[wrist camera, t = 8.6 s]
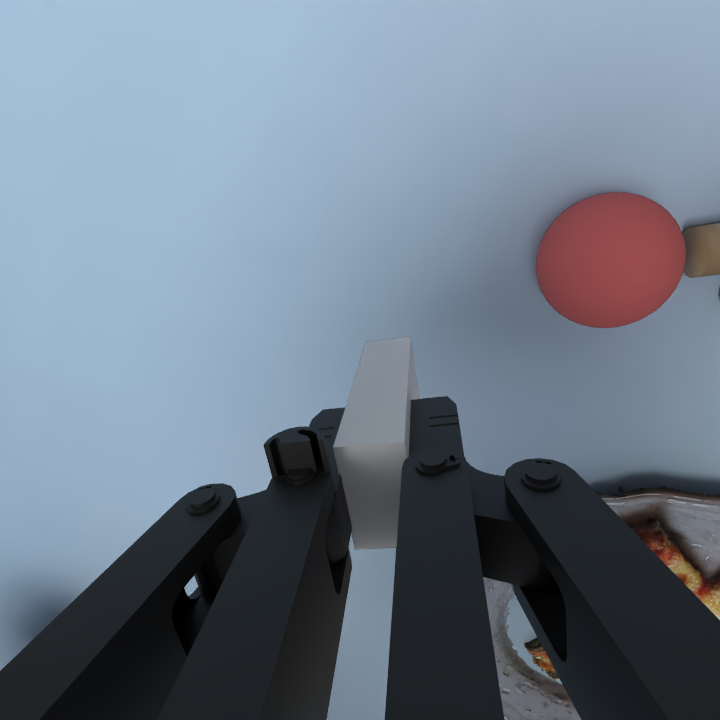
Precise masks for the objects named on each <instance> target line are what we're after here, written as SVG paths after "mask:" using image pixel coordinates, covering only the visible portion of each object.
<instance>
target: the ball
mask: <svg viewBox="0 0 720 720" xmlns="http://www.w3.org/2000/svg"><path fill="white" fill-rule="evenodd" d="M685 258H686V248H685V241H684V238H683V235H682V232H681V230H680V227H679V225H678V224H677V222H676V220H675V219H674V218H673V217H672V216H671V214H670V213H669V212H668V211H667V210H666V209H664V208H663V207H662V206H661V205H659V204H658V203H656V202H654V201H653V200H651V199H648V198H646V197H643V196H640V195H636V194H631V193H621V192H611V193H605V194H599V195H595V196H592V197H589V198H586V199H584V200H582V201H579V202H577V203H576V204H574V205H573V206H571V207H569V208H568V209H566V210H565V211H564V212H563V213H562V214H560V215H559V216H558V217H557V218H556V220H555V221H554V222H553V223H552V224H551V225H550V227H549V228H548V229H547V231H546V233H545V235H544V236H543V239H542V241H541V243H540V246H539V249H538V253H537V259H536V274H537V280H538V284H539V287H540V289H541V291H542V293H543V295H544V297H545V298H546V300H547V301H548V303H549V304H550V305H551V306H552V307H553V308H554V309H555V310H556V311H557V312H558V313H559V314H561V315H562V316H564V317H566V318H567V319H569V320H571V321H573V322H576V323H578V324H581V325H585V326H589V327H597V328H611V327H618V326H623V325H627V324H630V323H633V322H636V321H638V320H641V319H642V318H644V317H646V316H648V315H650V314H651V313H653V312H654V311H656V310H657V309H658V308H659V307H660V306H661V305H662V304H663V303H664V302H665V301H666V300H667V299H668V298H669V297H670V296H671V294H672V293H673V292H674V290H675V289H676V287H677V285H678V283H679V281H680V279H681V276H682V273H683V270H684V265H685Z"/></svg>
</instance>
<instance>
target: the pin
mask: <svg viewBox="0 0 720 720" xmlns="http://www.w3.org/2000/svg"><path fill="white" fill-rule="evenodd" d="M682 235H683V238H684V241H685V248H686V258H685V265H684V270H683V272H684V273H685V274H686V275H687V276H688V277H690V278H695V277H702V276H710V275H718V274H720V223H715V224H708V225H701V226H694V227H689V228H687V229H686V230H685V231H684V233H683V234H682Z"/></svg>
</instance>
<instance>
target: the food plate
mask: <svg viewBox="0 0 720 720" xmlns="http://www.w3.org/2000/svg"><path fill="white" fill-rule="evenodd" d="M621 488H622V486H621V487H619V490H620V492H622V493H623V494H625V496H623V497H622V498H621V497H619V498H618V497H617V496H616V495H615V494H607V493H606V494H600V495H599V496H600V497H601V498H602V499H603V500H604V501H605V502H606V504H607V505H608V506H609V507H610V508H611V509H612V510H613V511H614V512H615V513H616V514H617V515H618V516H619V517H620V518H621V519H622V520H623V521H624V522H625V523H626V524H627V525H628V526H629V527H630V528H631V529H632V530H633V531H634V532H635V533H636V534H637V535H638V536H639V537H640V538H641V540H642V541H643V542H644V543H645V544H646V545H647V546H648V547H649V548H650V549H651V550H652V551H653V552H654V553H655V554H656V555H657V556H658V557H659V558H660V559H661V560H662V561H663V562H664V563H665V564H666V565H667V566H668V567H669V568H670V569H671V570H672V571H673V572H674V573H675V575H676V576H677V577H678V578H679V579H680V580H681V581H682V582H683V583H684V584H685V585H686V586H687V587H688V588H689V589H690V590H691V591H692V592H693V593H694V594H695V595H696V596H697V597H698V598H699V599H700V600H701V601H702V602H703V603H704V604H705V605H706V606H707V607H708V608H709V609H710V611H711V612H712V613H713V614H714V615H715V616H716V617H717V618H718V619H719V620H720V495H711V494H708V495H706V494H705V495H703V494H698V493H690V492H682V491H680V490H675V489H672V488H671V489H670V488H666V487H664V486H663V487H657V488H652V489H644V488H640V489H637V490H633V491H628V492H626V491H623V490H621ZM483 580H484V586H485V593H486V600H487V606H488V613H489V620H490V626H491V633H492V640H493V647H494V653H495V660H496V667H497V673H498V680H499V687H500V693H501V700H502V707H503V714H504V716H506V717H507V718H508V720H581V718H580V716H579V715H578V713H577V711H576V709H575V707H574V705H573V703H572V701H571V699H570V697H569V696H568V694H567V692H566V690H565V688H564V686H563V685H561V684H560V683H557V682H556V680H557V679H558V678H559V677H558V675H557V673H556V671H555V669H554V667H553V665H552V663H551V662H550V660H549V658H548V656H547V654H546V652H545V650H544V648H543V646H542V645H541V643H540V641H539V639H538V637H537V638H536V639H533V640H531V641H530V642H527V643H525V644H524V645H525V647H526V648H527V649H528V652H529V653H530V654H532V655H533V661H534V664H537V666H539V667H541V668H542V671H543V670H545V671H546V673H547V674H548V675H549V676H552V679H549V678H548V677H546V676H544V675H543V674H541V673H539V672H537V671H536V670H533V669H532V668H530V667H529V666H528V665H527V664H526V663H525V661H524V660H523V659H521V658H520V657H519V656H517V655H516V654H517V653H518V652H517V651H516V650H514V649H512V645H513V643H512V641H511V640H510V639H509V638H508V636H507V629H508V627H509V626H508V625H507V626H505V623H506V617H507V615H508V614H509V613H508V612H507V611H508V609H509V608H508V607H507V606H508V605H507V604H508V602H509V600H510V598H511V597H514V594H515V593H514V590H513V587H512V584H510V583H506V582H501V581H497V580H493V579H489V578H485V577H483ZM513 642H514V641H513Z"/></svg>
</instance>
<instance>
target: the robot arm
mask: <svg viewBox="0 0 720 720" xmlns="http://www.w3.org/2000/svg"><path fill="white" fill-rule="evenodd" d="M264 449H265V452H266V456H267V459H268V463H269V467H270V470H271V474H272V479H271V481H270V483H269V485H268V488H267V490H264V491H261V492H259V493H255V494H252V495H248V496H244V497H241V498H237V496H236V493H235V490H234V489H233V488H232V487H231V486H230V485H226V484H223V483H221V484H209V485H206V486H205V485H204V486H201V487H199V488H197V489H195V490H193V491H191V492H189V493H188V494H186V495H185V496H184V497H182V498H181V499H180V500H179V501H177V502H176V503H175V504H174V505H173V506H172V507H171V508H170V509H169V510H168V511H167V512H166V513H165V514H164V515H163V516H162V517H161V518H160V519H159V520H158V521H157V522H156V523H154V524H153V525H152V526H151V527H150V528H149V529H148V530H147V531H146V532H145V533H144V534H143V535H142V536H141V537H140V538H139V539H138V540H137V541H136V542H135V543H134V544H133V545H132V546H130V547H129V548H128V549H127V550H126V551H125V552H124V553H123V554H122V555H121V556H120V557H119V558H118V559H117V560H116V561H115V562H114V563H113V564H112V565H111V566H110V567H109V568H107V569H106V570H105V571H104V572H103V573H102V574H101V575H100V576H99V577H98V578H97V579H96V580H95V581H94V582H93V583H92V584H91V585H90V586H89V587H88V588H87V589H86V590H84V591H83V592H82V593H81V594H80V595H79V596H78V597H77V598H76V599H75V600H74V601H73V602H72V603H71V604H70V605H69V606H68V607H67V608H66V609H65V610H64V611H63V612H61V613H60V614H59V615H58V616H57V617H56V618H55V619H54V620H53V621H52V622H51V623H50V624H49V625H48V626H47V627H46V628H45V629H44V630H43V631H42V632H41V633H40V634H38V635H37V636H36V637H35V638H34V639H33V640H32V641H31V642H30V643H29V644H28V645H27V646H26V647H25V648H24V649H23V650H22V651H21V652H20V653H19V654H18V655H17V656H16V657H14V658H13V659H12V660H11V661H10V662H9V663H8V664H7V665H6V666H5V667H4V668H3V669H2V670H1V671H0V720H326V718H327V712H328V707H329V701H330V695H331V689H332V683H333V677H334V671H335V665H336V659H337V653H338V647H339V641H340V635H341V629H342V623H343V617H344V611H345V605H346V599H347V593H348V587H349V581H350V575H351V570H352V563H351V556H350V552H349V547H348V546H349V541H350V536H351V533H352V538H353V542H354V547H355V549H375V548H396V562H395V577H394V592H393V607H392V621H391V636H390V651H389V666H388V681H387V696H386V711H385V720H504V714H503V707H502V700H501V693H500V687H499V680H498V673H497V667H496V660H495V653H494V647H493V640H492V633H491V626H490V620H489V613H488V606H487V600H486V593H485V586H484V580H483V577H485V578H489V579H493V580H497V581H501V582H506V583H510V584H512V587H513V590H514V593H515V595H516V597H517V599H518V601H519V603H520V605H521V607H522V609H523V610H524V612H525V614H526V616H527V618H528V620H529V622H530V624H531V626H532V627H533V629H534V631H535V633H536V635H537V637H538V639H539V641H540V643H541V645H542V646H543V648H544V650H545V652H546V654H547V656H548V658H549V660H550V662H551V663H552V665H553V667H554V669H555V671H556V673H557V675H558V677H559V679H560V680H561V682H562V684H563V686H564V688H565V690H566V692H567V694H568V696H569V697H570V699H571V701H572V703H573V705H574V707H575V709H576V711H577V713H578V715H579V716H580V718H581V720H720V620H719V619H718V618H717V617H716V616H715V615H714V614H713V613H712V612H711V611H710V609H709V608H708V607H707V606H706V605H705V604H704V603H703V602H702V601H701V600H700V599H699V598H698V597H697V596H696V595H695V594H694V593H693V592H692V591H691V590H690V589H689V588H688V587H687V586H686V585H685V584H684V583H683V582H682V581H681V580H680V579H679V578H678V577H677V576H676V575H675V573H674V572H673V571H672V570H671V569H670V568H669V567H668V566H667V565H666V564H665V563H664V562H663V561H662V560H661V559H660V558H659V557H658V556H657V555H656V554H655V553H654V552H653V551H652V550H651V549H650V548H649V547H648V546H647V545H646V544H645V543H644V542H643V541H642V540H641V538H640V537H639V536H638V535H637V534H636V533H635V532H634V531H633V530H632V529H631V528H630V527H629V526H628V525H627V524H626V523H625V522H624V521H623V520H622V519H621V518H620V517H619V516H618V515H617V514H616V513H615V512H614V511H613V510H612V509H611V508H610V507H609V506H608V505H607V504H606V502H605V501H604V500H603V499H602V498H601V497H600V496H599V495H598V494H597V493H596V492H595V491H594V490H593V489H592V488H591V487H590V486H589V485H588V484H587V483H586V482H585V481H584V480H583V479H582V478H581V477H580V476H579V475H578V474H577V473H576V472H575V471H574V470H573V469H571V468H570V467H568V466H567V465H566V464H563V463H560V462H557V461H554V460H549V459H541V458H537V459H526V460H523V461H520V462H517V463H514V464H513V465H512V466H511V467H509V468H508V469H507V470H506V473H505V476H499V475H493V474H488V473H484V472H482V471H479V470H477V469H475V468H474V467H472V466H470V465H469V463H468V462H467V461H466V459H465V457H464V453H463V446H462V439H461V433H460V426H459V419H458V413H457V406H456V404H455V403H454V402H453V401H452V400H451V399H450V398H449V397H447V396H446V397H435V398H425V399H419V396H418V388H417V381H416V374H415V366H414V359H413V352H412V344H411V337H401V338H393V339H385V340H376V341H368V342H366V343H365V346H364V350H363V353H362V356H361V359H360V363H359V366H358V369H357V372H356V375H355V379H354V382H353V385H352V388H351V391H350V395H349V398H348V401H347V404H346V407H345V408H336V409H326V410H322V411H321V412H320V413H319V414H318V415H316V416H315V417H314V418H313V419H312V421H311V423H310V426H309V427H296V428H290V429H287V430H284V431H282V432H279V433H277V434H276V435H274V436H272V437H271V438H269V439H268V440H267V442H266V443H265V444H264ZM193 576H195V579H196V581H197V584H198V588H197V589H196V590H195V591H194V592H193V593H192V594H191V595H190V596H189V597H188V596H187V594H186V592H185V589H184V587H185V586H186V584H187V583H188V582H189V581H190V580H191V578H192V577H193Z"/></svg>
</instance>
